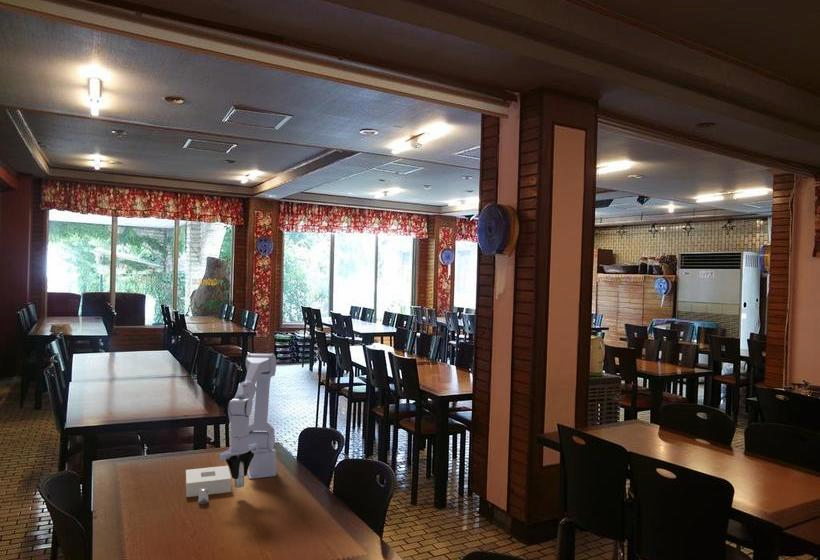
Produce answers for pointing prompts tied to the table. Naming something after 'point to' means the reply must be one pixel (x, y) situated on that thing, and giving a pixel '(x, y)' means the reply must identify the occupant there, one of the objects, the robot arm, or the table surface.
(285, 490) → the table surface
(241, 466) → the tall steel pin
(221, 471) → the hole block
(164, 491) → the table surface
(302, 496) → the table surface
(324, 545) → the table surface
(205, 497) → the short steel pin
